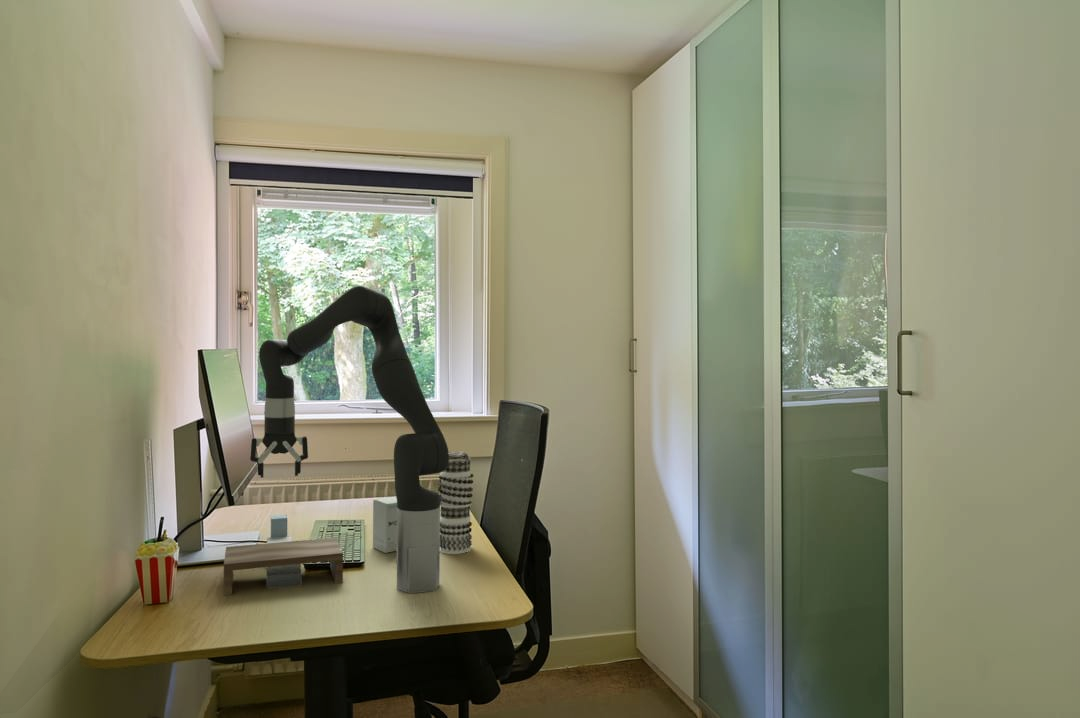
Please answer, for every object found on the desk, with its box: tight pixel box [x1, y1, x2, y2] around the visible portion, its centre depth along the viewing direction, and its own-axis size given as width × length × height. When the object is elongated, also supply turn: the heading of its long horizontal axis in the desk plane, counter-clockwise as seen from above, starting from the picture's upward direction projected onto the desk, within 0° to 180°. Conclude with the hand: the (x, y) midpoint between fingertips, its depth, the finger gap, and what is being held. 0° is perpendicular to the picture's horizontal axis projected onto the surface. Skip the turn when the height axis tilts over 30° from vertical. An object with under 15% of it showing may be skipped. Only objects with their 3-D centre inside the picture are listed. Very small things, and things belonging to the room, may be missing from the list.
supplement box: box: [372, 496, 397, 554], centre depth 185 cm, size 7×7×13 cm
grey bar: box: [266, 514, 293, 544], centre depth 180 cm, size 24×6×7 cm, turn 22°
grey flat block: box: [266, 564, 302, 589], centre depth 158 cm, size 7×7×3 cm
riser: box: [223, 537, 344, 596], centre depth 160 cm, size 14×24×6 cm, turn 112°
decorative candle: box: [437, 451, 474, 555], centre depth 184 cm, size 9×9×25 cm
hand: (279, 476), depth 189 cm, fingers open, 8 cm apart
